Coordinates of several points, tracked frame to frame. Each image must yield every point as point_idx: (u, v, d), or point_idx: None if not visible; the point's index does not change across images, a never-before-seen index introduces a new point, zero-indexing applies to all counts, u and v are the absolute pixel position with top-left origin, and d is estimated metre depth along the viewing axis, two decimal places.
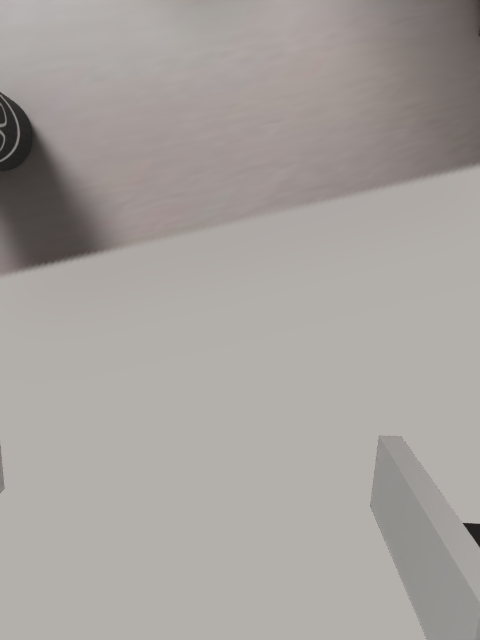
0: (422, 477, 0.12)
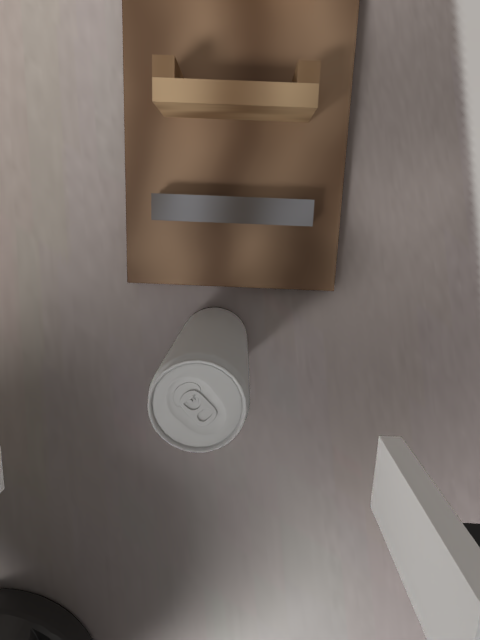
0: (422, 477, 0.12)
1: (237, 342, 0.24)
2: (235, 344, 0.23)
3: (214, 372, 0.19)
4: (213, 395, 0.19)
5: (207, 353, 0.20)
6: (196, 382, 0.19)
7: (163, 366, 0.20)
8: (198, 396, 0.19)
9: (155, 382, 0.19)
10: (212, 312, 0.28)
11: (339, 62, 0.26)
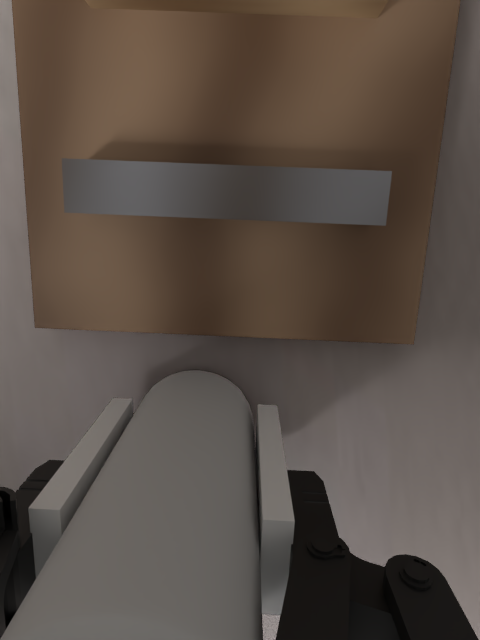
0: (274, 435, 0.14)
1: (233, 485, 0.11)
2: (228, 499, 0.10)
3: None
4: None
5: (137, 611, 0.06)
6: None
7: None
8: None
9: None
10: (188, 386, 0.15)
11: None
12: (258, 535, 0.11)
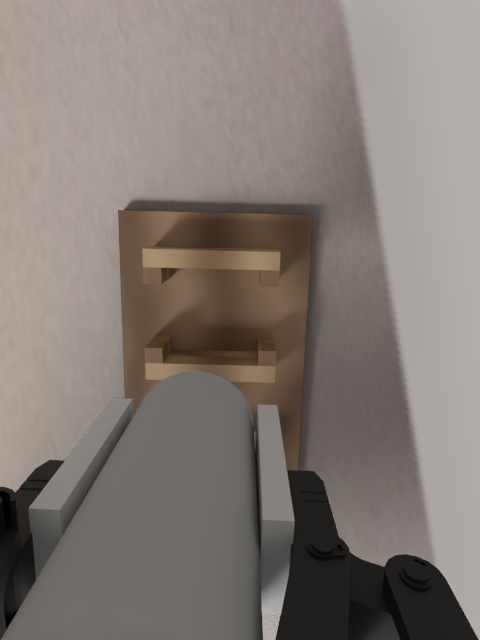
0: (275, 435, 0.14)
1: (233, 487, 0.11)
2: (228, 501, 0.10)
3: None
4: None
5: (137, 615, 0.06)
6: None
7: None
8: None
9: None
10: (188, 387, 0.15)
11: (294, 324, 0.32)
12: (258, 537, 0.11)
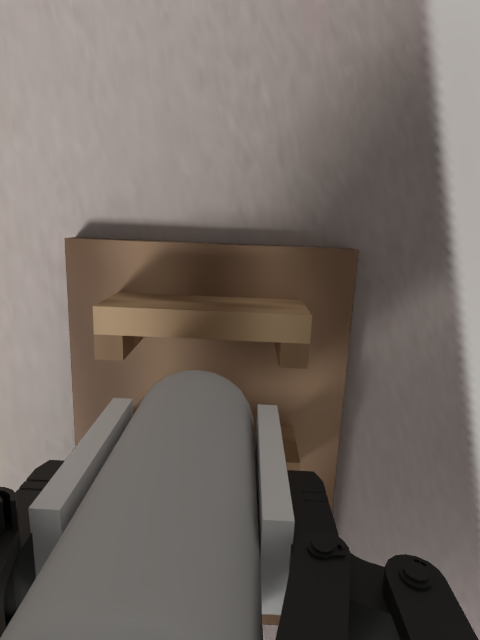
0: (274, 435, 0.14)
1: (233, 485, 0.11)
2: (228, 500, 0.10)
3: None
4: None
5: (137, 613, 0.06)
6: None
7: None
8: None
9: None
10: (188, 386, 0.15)
11: (325, 407, 0.22)
12: (258, 536, 0.11)
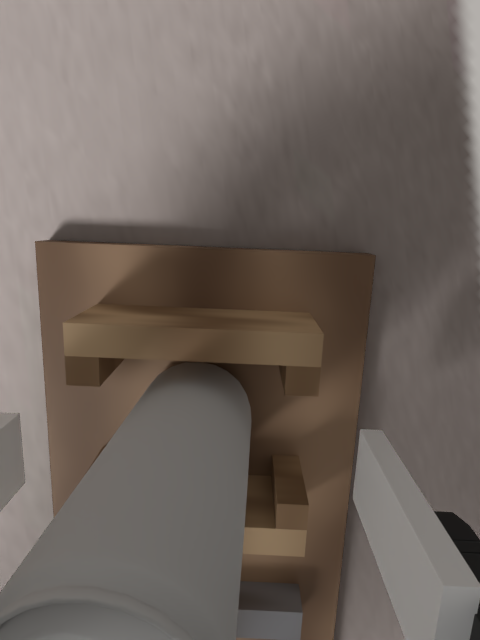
0: (398, 468, 0.12)
1: (221, 463, 0.12)
2: (214, 475, 0.11)
3: (134, 624, 0.07)
4: None
5: (123, 557, 0.08)
6: None
7: (12, 587, 0.08)
8: None
9: None
10: (188, 376, 0.16)
11: (336, 434, 0.19)
12: (242, 509, 0.12)
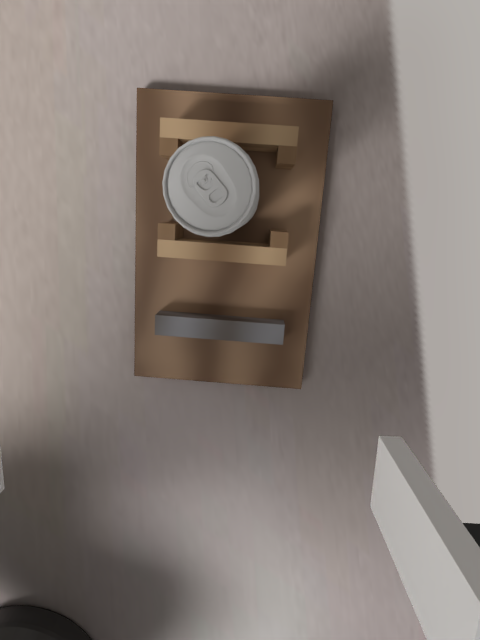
0: (422, 477, 0.12)
1: None
2: None
3: (227, 151, 0.20)
4: (225, 176, 0.20)
5: None
6: (209, 161, 0.20)
7: None
8: (210, 176, 0.20)
9: (171, 159, 0.20)
10: None
11: (308, 216, 0.32)
12: None
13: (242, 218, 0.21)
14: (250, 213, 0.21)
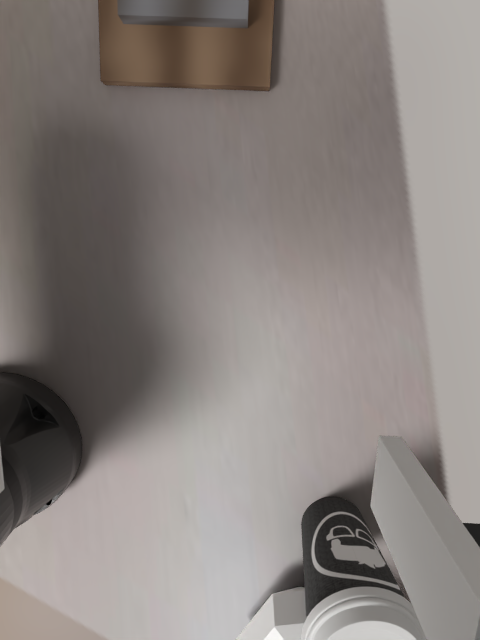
0: (422, 477, 0.12)
1: None
2: None
3: None
4: None
5: None
6: None
7: None
8: None
9: None
10: None
11: None
12: None
13: None
14: None
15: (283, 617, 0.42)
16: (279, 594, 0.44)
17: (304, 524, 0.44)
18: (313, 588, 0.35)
